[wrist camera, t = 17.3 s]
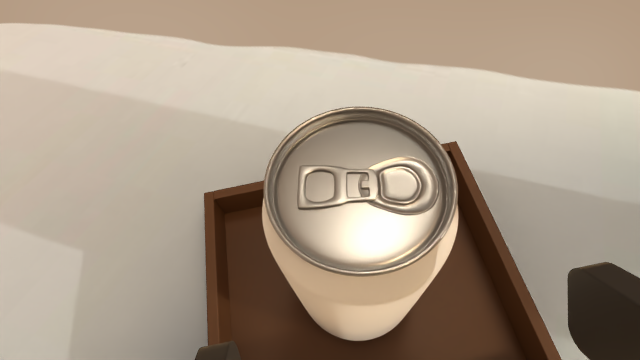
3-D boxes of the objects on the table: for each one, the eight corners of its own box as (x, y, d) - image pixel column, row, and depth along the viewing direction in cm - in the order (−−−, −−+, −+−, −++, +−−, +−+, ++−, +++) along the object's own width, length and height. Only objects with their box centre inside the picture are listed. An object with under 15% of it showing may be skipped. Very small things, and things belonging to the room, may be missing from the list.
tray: (446, 164, 25) (456, 140, 22) (540, 375, 18) (569, 374, 16) (218, 211, 24) (203, 192, 22) (229, 445, 18) (210, 455, 15)
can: (419, 342, 19) (500, 292, 8) (298, 342, 19) (234, 294, 9) (405, 228, 22) (452, 91, 12) (302, 231, 22) (259, 100, 12)
